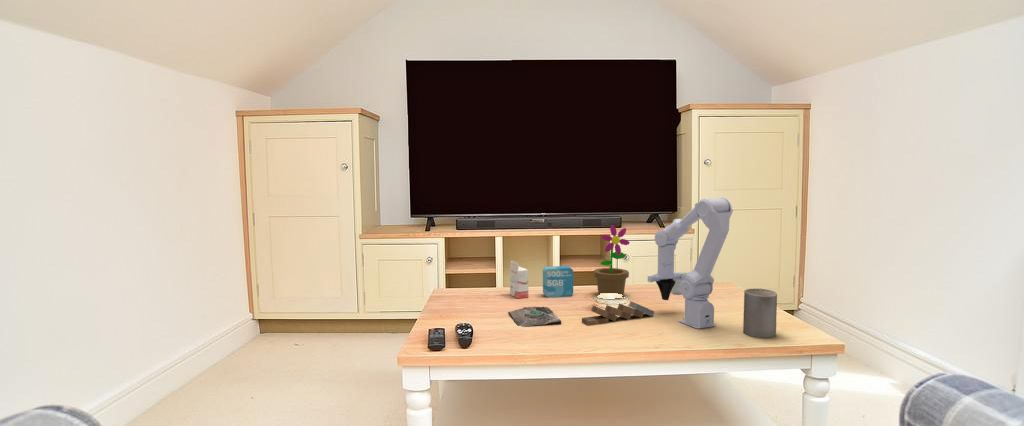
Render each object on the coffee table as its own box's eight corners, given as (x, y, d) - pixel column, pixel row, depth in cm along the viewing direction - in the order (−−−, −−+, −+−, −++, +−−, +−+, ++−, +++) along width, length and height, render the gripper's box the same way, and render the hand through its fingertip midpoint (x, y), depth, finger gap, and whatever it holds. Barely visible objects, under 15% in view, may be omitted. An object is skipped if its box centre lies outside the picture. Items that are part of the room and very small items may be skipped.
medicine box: (690, 292, 231) (690, 272, 230) (692, 294, 227) (693, 274, 226) (671, 291, 232) (671, 271, 231) (673, 294, 227) (673, 274, 226)
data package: (545, 297, 224) (545, 268, 223) (542, 295, 228) (542, 266, 227) (573, 296, 226) (573, 267, 225) (570, 293, 230) (570, 265, 229)
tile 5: (608, 318, 188) (588, 321, 185) (608, 324, 189) (587, 327, 186) (601, 315, 192) (581, 317, 190) (601, 320, 193) (581, 323, 190)
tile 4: (617, 316, 190) (599, 308, 187) (615, 321, 190) (597, 313, 187) (611, 312, 194) (593, 305, 191) (608, 318, 194) (590, 310, 191)
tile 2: (643, 312, 194) (626, 306, 191) (641, 318, 194) (624, 311, 191) (636, 309, 198) (619, 303, 195) (634, 314, 198) (617, 308, 195)
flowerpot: (602, 301, 218) (602, 226, 215) (588, 292, 231) (588, 222, 228) (634, 298, 221) (635, 225, 219) (618, 290, 235) (619, 221, 232)
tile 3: (631, 314, 192) (613, 308, 189) (629, 319, 192) (611, 313, 189) (624, 311, 196) (606, 304, 193) (622, 316, 196) (604, 310, 193)
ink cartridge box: (529, 297, 224) (529, 262, 223) (518, 299, 222) (518, 263, 221) (520, 293, 232) (519, 259, 230) (509, 294, 230) (509, 260, 228)
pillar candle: (748, 327, 182) (749, 283, 181) (779, 332, 176) (781, 287, 175) (739, 334, 175) (740, 289, 173) (771, 340, 169) (773, 293, 167)
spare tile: (654, 311, 195) (637, 304, 193) (652, 316, 195) (635, 309, 192) (647, 308, 199) (630, 301, 197) (645, 313, 199) (628, 306, 196)
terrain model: (507, 313, 204) (507, 305, 204) (546, 311, 207) (546, 302, 207) (518, 329, 184) (518, 320, 184) (561, 326, 187) (561, 317, 187)
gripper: (674, 259, 205) (674, 295, 206) (642, 262, 199) (642, 299, 201) (687, 262, 198) (686, 299, 200) (654, 266, 193) (654, 303, 194)
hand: (665, 299), depth 200 cm, fingers closed
